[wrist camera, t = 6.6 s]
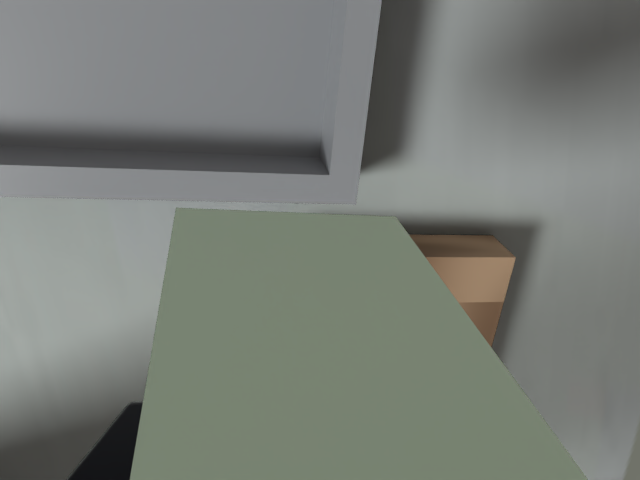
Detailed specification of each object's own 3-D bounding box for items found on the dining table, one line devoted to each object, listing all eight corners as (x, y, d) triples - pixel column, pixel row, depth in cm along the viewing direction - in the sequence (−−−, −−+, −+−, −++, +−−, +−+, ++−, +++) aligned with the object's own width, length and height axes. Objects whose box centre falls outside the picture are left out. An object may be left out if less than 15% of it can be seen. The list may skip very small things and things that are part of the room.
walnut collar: (254, 421, 25) (257, 455, 23) (265, 232, 21) (269, 256, 19) (449, 410, 27) (465, 441, 25) (492, 235, 23) (515, 257, 21)
